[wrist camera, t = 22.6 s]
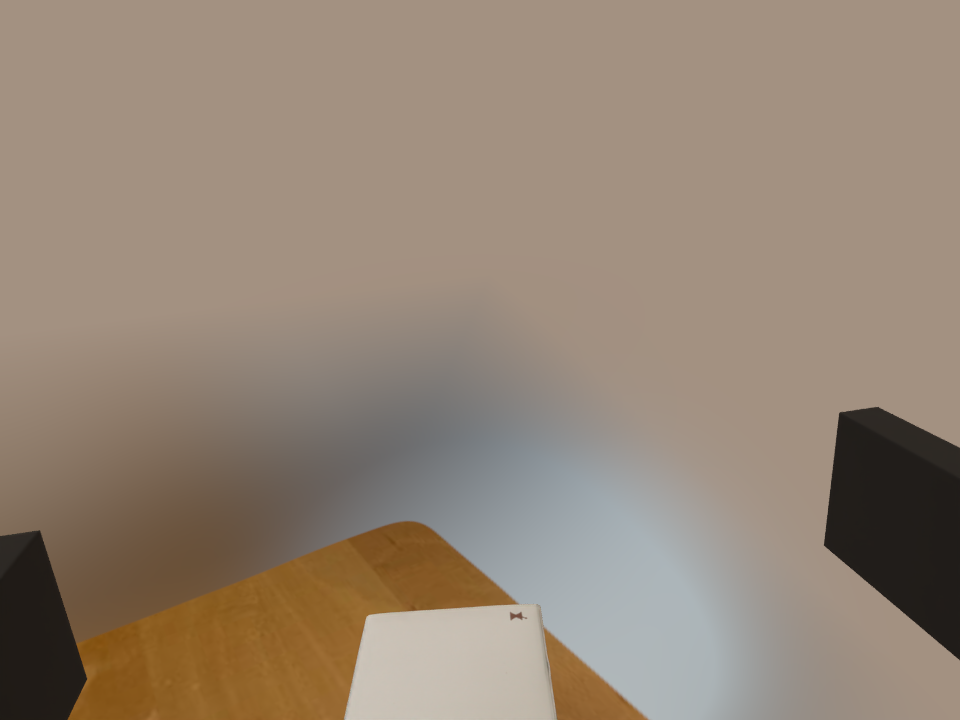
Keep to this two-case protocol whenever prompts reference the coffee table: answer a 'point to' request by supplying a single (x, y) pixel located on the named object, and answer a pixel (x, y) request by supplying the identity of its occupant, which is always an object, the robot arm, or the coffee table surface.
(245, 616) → the coffee table surface
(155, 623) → the coffee table surface
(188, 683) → the coffee table surface
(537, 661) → the white packaging box
